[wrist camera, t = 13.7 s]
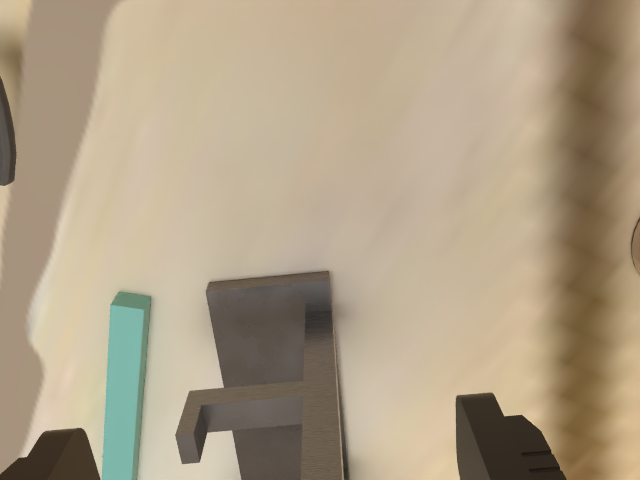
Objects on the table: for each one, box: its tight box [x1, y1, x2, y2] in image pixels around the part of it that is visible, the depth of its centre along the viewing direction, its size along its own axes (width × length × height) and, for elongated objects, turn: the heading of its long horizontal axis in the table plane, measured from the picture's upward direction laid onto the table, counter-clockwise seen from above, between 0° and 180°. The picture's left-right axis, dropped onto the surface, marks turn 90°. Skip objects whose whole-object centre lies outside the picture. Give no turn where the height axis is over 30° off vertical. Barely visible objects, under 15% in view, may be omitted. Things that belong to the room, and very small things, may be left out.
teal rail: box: [102, 292, 151, 480], centre depth 48 cm, size 2×22×2 cm, turn 170°
